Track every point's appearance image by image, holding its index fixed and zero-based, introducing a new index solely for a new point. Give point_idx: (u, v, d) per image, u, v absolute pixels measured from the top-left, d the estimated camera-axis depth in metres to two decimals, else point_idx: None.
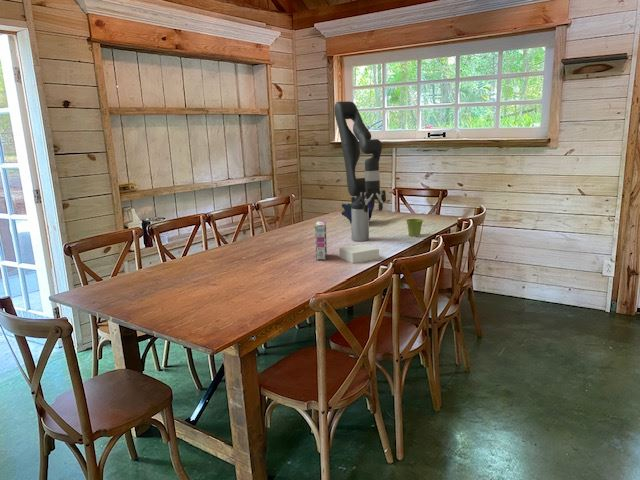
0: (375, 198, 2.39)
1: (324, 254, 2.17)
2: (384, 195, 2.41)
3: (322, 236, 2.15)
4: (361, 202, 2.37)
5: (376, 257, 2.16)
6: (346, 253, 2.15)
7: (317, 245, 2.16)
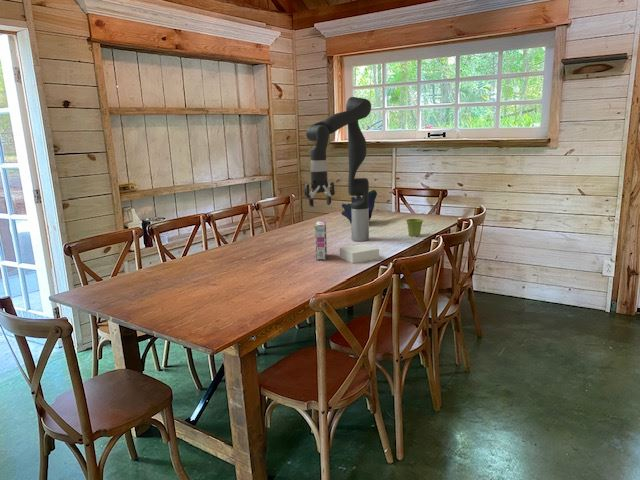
0: (322, 191, 2.16)
1: (324, 254, 2.17)
2: (332, 187, 2.17)
3: (322, 236, 2.15)
4: (306, 195, 2.13)
5: (376, 257, 2.16)
6: (346, 253, 2.15)
7: (317, 245, 2.16)
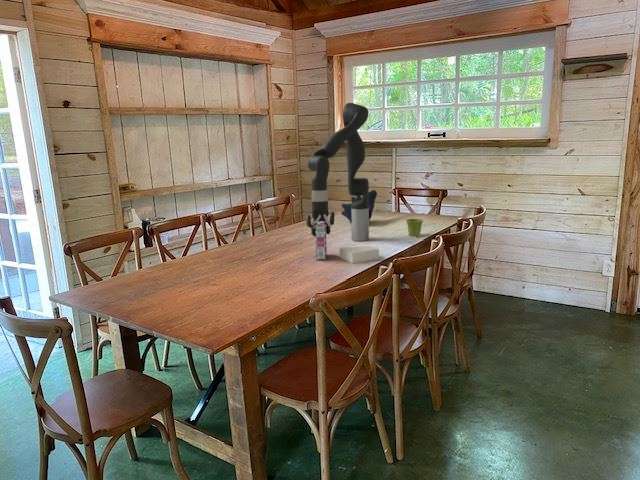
0: (322, 220, 2.18)
1: (324, 254, 2.17)
2: (333, 217, 2.20)
3: (322, 236, 2.15)
4: (308, 225, 2.17)
5: (376, 257, 2.16)
6: (346, 253, 2.15)
7: (317, 245, 2.16)
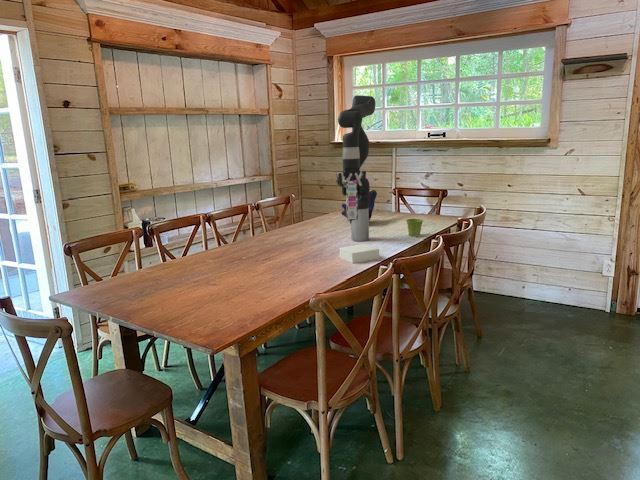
0: (353, 178, 2.11)
1: (356, 214, 2.09)
2: (364, 176, 2.13)
3: (353, 195, 2.08)
4: (339, 184, 2.09)
5: (376, 257, 2.16)
6: (346, 253, 2.15)
7: (348, 204, 2.09)
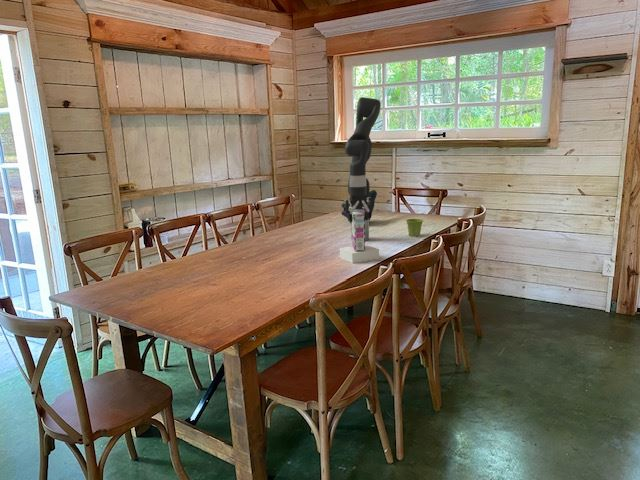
0: (361, 206, 2.13)
1: (363, 245, 2.12)
2: (371, 203, 2.15)
3: (361, 227, 2.10)
4: (345, 211, 2.11)
5: (376, 257, 2.16)
6: (346, 253, 2.15)
7: (356, 236, 2.11)
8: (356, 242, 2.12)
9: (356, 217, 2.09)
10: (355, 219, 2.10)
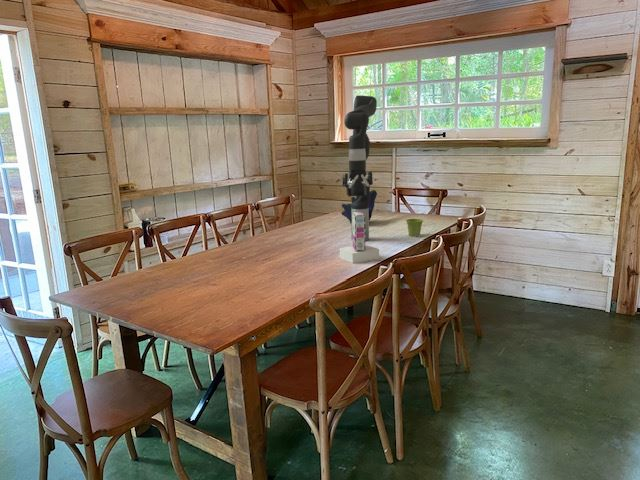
0: (360, 180, 2.10)
1: (363, 245, 2.12)
2: (371, 177, 2.12)
3: (361, 226, 2.10)
4: (344, 185, 2.08)
5: (376, 257, 2.16)
6: (346, 253, 2.15)
7: (356, 236, 2.11)
8: (356, 242, 2.11)
9: (357, 217, 2.09)
10: (356, 219, 2.09)
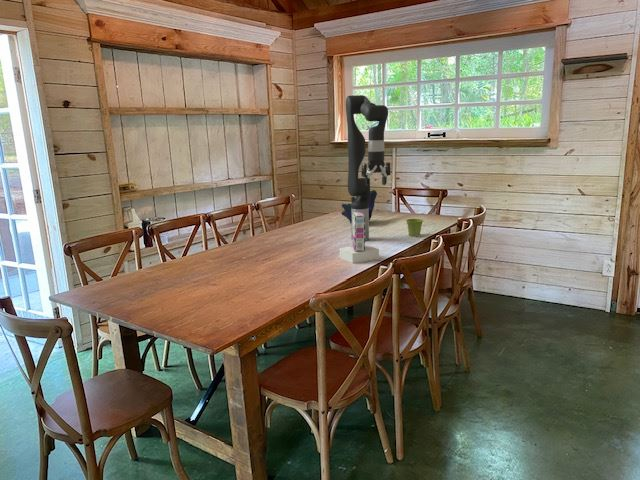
0: (378, 171, 2.18)
1: (363, 245, 2.12)
2: (389, 168, 2.20)
3: (361, 227, 2.10)
4: (363, 175, 2.16)
5: (376, 257, 2.16)
6: (346, 253, 2.15)
7: (356, 236, 2.11)
8: (356, 242, 2.11)
9: (356, 217, 2.09)
10: (355, 219, 2.09)
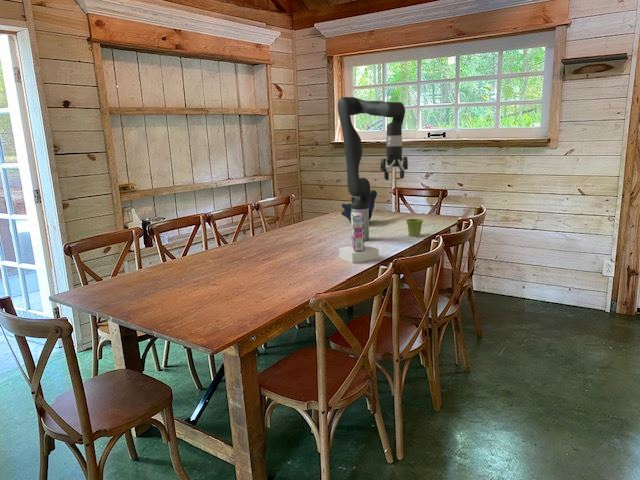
0: (397, 165, 2.27)
1: (362, 245, 2.12)
2: (406, 162, 2.29)
3: (359, 227, 2.10)
4: (382, 169, 2.25)
5: (376, 257, 2.16)
6: (346, 253, 2.15)
7: (355, 236, 2.11)
8: (355, 242, 2.11)
9: (354, 217, 2.09)
10: (354, 219, 2.09)
